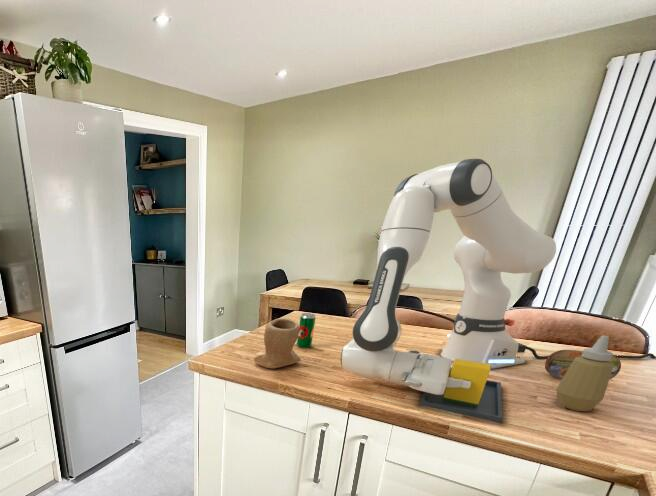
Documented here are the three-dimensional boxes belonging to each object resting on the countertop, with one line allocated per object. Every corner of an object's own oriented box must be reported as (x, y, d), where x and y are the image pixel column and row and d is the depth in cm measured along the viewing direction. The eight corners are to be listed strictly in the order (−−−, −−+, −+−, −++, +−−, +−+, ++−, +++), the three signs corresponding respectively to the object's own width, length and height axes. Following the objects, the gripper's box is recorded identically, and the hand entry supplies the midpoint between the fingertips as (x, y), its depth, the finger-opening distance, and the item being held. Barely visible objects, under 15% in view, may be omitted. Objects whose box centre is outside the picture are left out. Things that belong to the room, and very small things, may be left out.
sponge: (443, 394, 104) (454, 358, 100) (477, 401, 100) (490, 364, 96) (442, 400, 101) (453, 363, 97) (477, 407, 97) (490, 369, 93)
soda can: (312, 348, 143) (317, 315, 139) (297, 348, 144) (302, 315, 139) (309, 344, 148) (314, 312, 143) (295, 343, 149) (299, 312, 144)
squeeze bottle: (541, 400, 101) (570, 332, 94) (570, 398, 102) (601, 330, 94) (576, 415, 94) (609, 342, 87) (607, 413, 94) (643, 340, 87)
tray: (430, 376, 117) (431, 370, 117) (498, 388, 108) (500, 382, 108) (419, 407, 99) (420, 400, 99) (500, 425, 90) (502, 418, 89)
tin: (543, 377, 115) (554, 349, 111) (538, 373, 117) (549, 346, 114) (614, 384, 109) (628, 355, 106) (607, 380, 112) (620, 352, 108)
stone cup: (273, 374, 121) (278, 327, 115) (248, 363, 131) (252, 318, 125) (310, 366, 127) (317, 320, 121) (283, 355, 137) (288, 312, 131)
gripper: (402, 369, 97) (473, 382, 89) (414, 348, 112) (476, 357, 104) (396, 392, 100) (465, 407, 92) (408, 369, 114) (469, 379, 106)
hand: (471, 380), depth 98 cm, fingers closed on sponge, 4 cm apart
